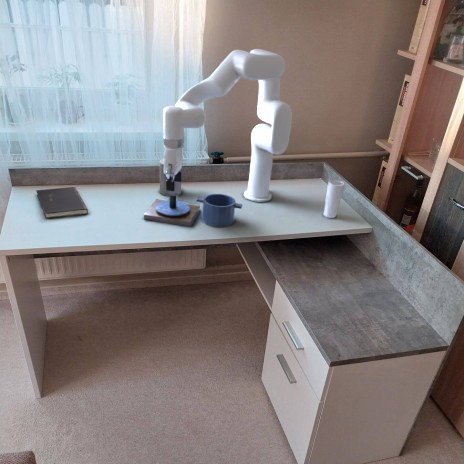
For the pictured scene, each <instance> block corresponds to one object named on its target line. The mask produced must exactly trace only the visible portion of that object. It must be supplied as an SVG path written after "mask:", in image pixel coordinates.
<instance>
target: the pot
mask: <svg viewBox="0 0 464 464" xmlns="http://www.w3.org/2000/svg"><path fill="white" fill-rule="evenodd" d="M195 202H196V203H202V209H201V211H202V212H201V219H202V222H203V223H204V224H206V225H208V226H210V227H211V226H212V227H217V228H223V227H224V228H225V227H229V226H231V225H233V223H234V221H235V213H236V209H242V207H243V204H242V203H238V202H237V201H236V199H235V198H234V197H233V196H231V195H228V194H223V193H210V194H207V195H204V197H200V196H199V197H197V198H196V201H195Z"/></svg>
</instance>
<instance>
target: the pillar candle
mask: <svg viewBox="0 0 464 464" xmlns="http://www.w3.org/2000/svg"><path fill="white" fill-rule="evenodd" d="M181 169H183V167H182V168H181ZM181 172H182V171H181ZM170 173H173V172H170ZM170 176H171V177H172V175H170ZM159 193H160V194H161V195H163V196H167V197H169V194H170V193H175V194H176V197H177V196H179V195H181V194H182V181H181V182H176V181H175V190H174V191H168V190H166V174H164V158H162V159H160V160H159Z"/></svg>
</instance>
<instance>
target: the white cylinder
mask: <svg viewBox="0 0 464 464" xmlns="http://www.w3.org/2000/svg"><path fill="white" fill-rule="evenodd" d="M344 190H345V182H344V181H342V180H339V179H329V181H328V182H327V187H326V193H325V202H324V209H323V216H324V217H325V218H328V219H334V218H336V217H337V212H338V209H339V206H340V203H341V200H342V197H343V194H344Z"/></svg>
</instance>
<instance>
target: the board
mask: <svg viewBox="0 0 464 464" xmlns="http://www.w3.org/2000/svg"><path fill="white" fill-rule="evenodd" d="M162 201H166V200H163V199H160V198H159V199H158V198H156V199H155V200H154V202H152V204H151V205H150V206H149V207H148V209H146V211H145V212H144V213H143V220H148V221H154V222H160V223H167V224H172V225H178V226H185V227H191V226H192V224H193V223H194V222H195V221H196V220H195V219H196V218H197V216H198V215H199V213H200V212H201V206H200V205H196V204H190V203H186V204H187V205H189V207H190V211H189V212H188V213H187V214H185V215H181V216H167V215H163V214H161V213H159V212H157V211H156V205H157V204H158V203H160V202H162Z"/></svg>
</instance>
